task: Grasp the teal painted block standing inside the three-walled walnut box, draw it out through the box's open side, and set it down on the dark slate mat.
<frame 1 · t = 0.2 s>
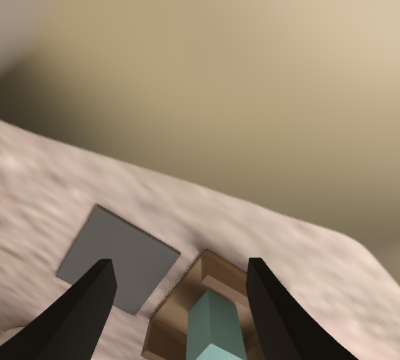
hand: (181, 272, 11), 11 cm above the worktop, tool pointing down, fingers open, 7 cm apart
slate mat: (118, 263, 23), on the worktop
walnut box: (218, 309, 25), on the worktop
supplement can: (34, 345, 27), on the worktop
block: (212, 308, 24), resting on walnut box
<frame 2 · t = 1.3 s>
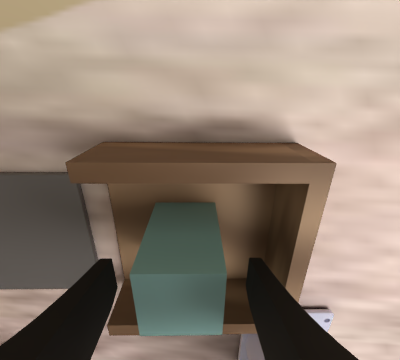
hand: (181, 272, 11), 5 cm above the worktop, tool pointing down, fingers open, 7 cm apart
slate mat: (24, 235, 15), on the worktop
walnut box: (200, 223, 15), on the worktop
block: (186, 227, 15), resting on walnut box
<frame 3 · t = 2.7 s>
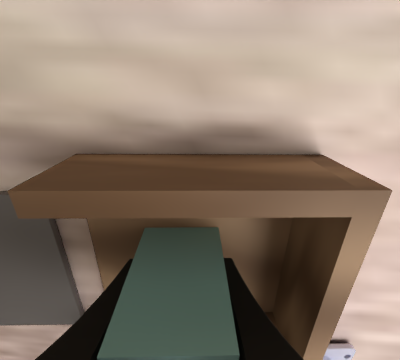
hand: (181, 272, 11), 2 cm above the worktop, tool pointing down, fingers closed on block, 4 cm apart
walnut box: (199, 250, 13), on the worktop
block: (182, 255, 12), resting on walnut box, touching gripper
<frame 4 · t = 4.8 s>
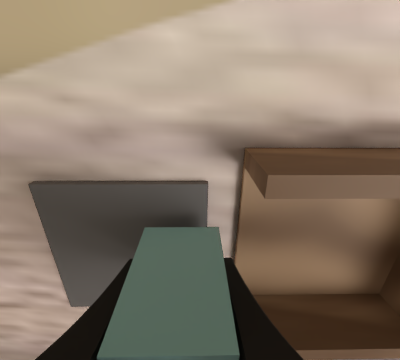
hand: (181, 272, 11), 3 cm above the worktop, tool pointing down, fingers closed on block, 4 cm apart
slate mat: (131, 249, 14), on the worktop
walnut box: (326, 236, 14), on the worktop
block: (182, 255, 12), point 2 cm above the worktop, touching gripper
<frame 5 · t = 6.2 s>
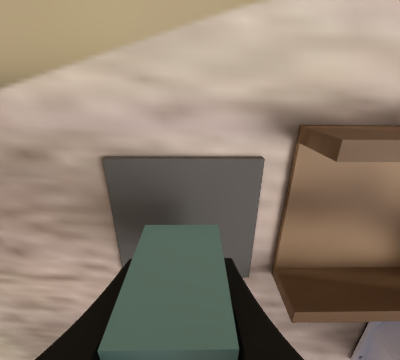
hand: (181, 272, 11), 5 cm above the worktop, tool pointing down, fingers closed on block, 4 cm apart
slate mat: (185, 223, 15), on the worktop
walnut box: (366, 210, 15), on the worktop
block: (182, 253, 12), point 3 cm above the worktop, touching gripper
when the fingers open (3 cm above the worktop, at t = 7.3 s): block stays where it is, resting on slate mat.
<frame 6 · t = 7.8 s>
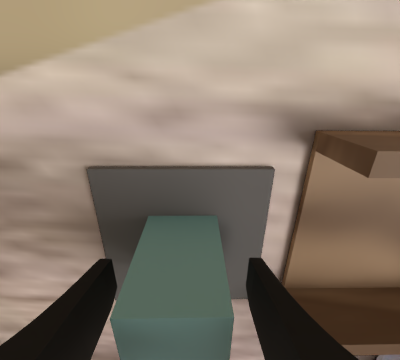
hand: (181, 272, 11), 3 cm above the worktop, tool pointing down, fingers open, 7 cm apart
slate mat: (184, 240, 13), on the worktop
walnut box: (387, 226, 13), on the worktop
block: (183, 242, 13), resting on slate mat
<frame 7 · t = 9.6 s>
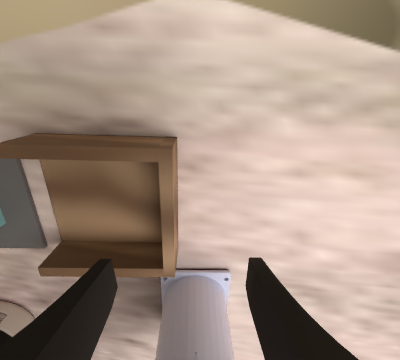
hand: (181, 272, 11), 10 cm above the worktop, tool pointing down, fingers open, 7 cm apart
walnut box: (115, 197, 20), on the worktop
supplement can: (8, 318, 27), on the worktop
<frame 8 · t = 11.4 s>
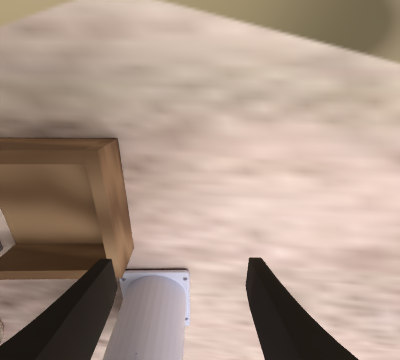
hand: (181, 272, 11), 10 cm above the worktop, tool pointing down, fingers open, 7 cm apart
walnut box: (64, 199, 20), on the worktop
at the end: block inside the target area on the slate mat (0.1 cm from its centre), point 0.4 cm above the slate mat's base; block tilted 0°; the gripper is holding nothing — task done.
